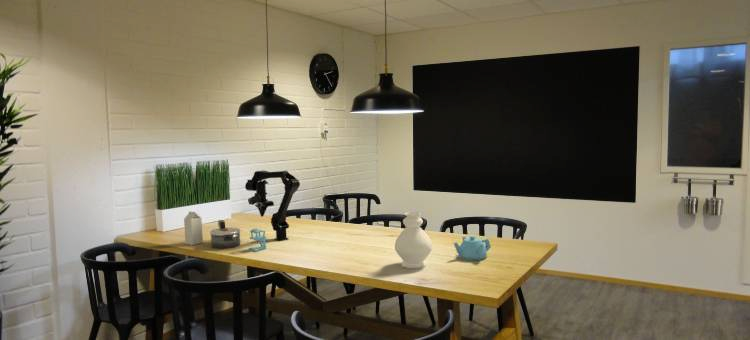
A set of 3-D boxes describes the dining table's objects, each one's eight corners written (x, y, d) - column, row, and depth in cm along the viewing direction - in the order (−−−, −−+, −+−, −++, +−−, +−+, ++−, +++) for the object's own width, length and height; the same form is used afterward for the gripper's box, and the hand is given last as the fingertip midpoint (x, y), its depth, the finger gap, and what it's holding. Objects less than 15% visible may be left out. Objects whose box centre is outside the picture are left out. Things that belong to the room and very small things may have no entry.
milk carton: (192, 245, 309) (190, 213, 307) (185, 243, 313) (183, 212, 312) (202, 243, 315) (201, 211, 313) (195, 241, 319) (194, 210, 317)
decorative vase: (440, 265, 252) (439, 213, 250) (411, 271, 242) (410, 217, 240) (416, 257, 267) (415, 208, 264) (387, 264, 256) (386, 213, 254)
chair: (268, 249, 294) (268, 228, 293) (255, 252, 288) (255, 230, 287) (261, 247, 299) (260, 226, 298) (248, 249, 294) (247, 228, 293)
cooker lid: (242, 233, 302) (242, 225, 301) (212, 237, 295) (212, 228, 294) (234, 227, 323) (234, 218, 322) (206, 230, 316) (206, 221, 315)
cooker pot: (243, 247, 300) (242, 235, 299) (214, 251, 293) (213, 238, 293) (235, 238, 323) (235, 227, 323) (208, 242, 317) (207, 230, 316)
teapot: (482, 262, 254) (482, 240, 253) (453, 259, 261) (452, 238, 260) (491, 255, 268) (491, 234, 267) (463, 252, 275) (462, 232, 274)
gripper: (241, 191, 324) (242, 216, 326) (257, 193, 311) (258, 220, 312) (257, 189, 332) (258, 214, 333) (273, 191, 318) (274, 217, 320)
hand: (262, 216), depth 324 cm, fingers closed
